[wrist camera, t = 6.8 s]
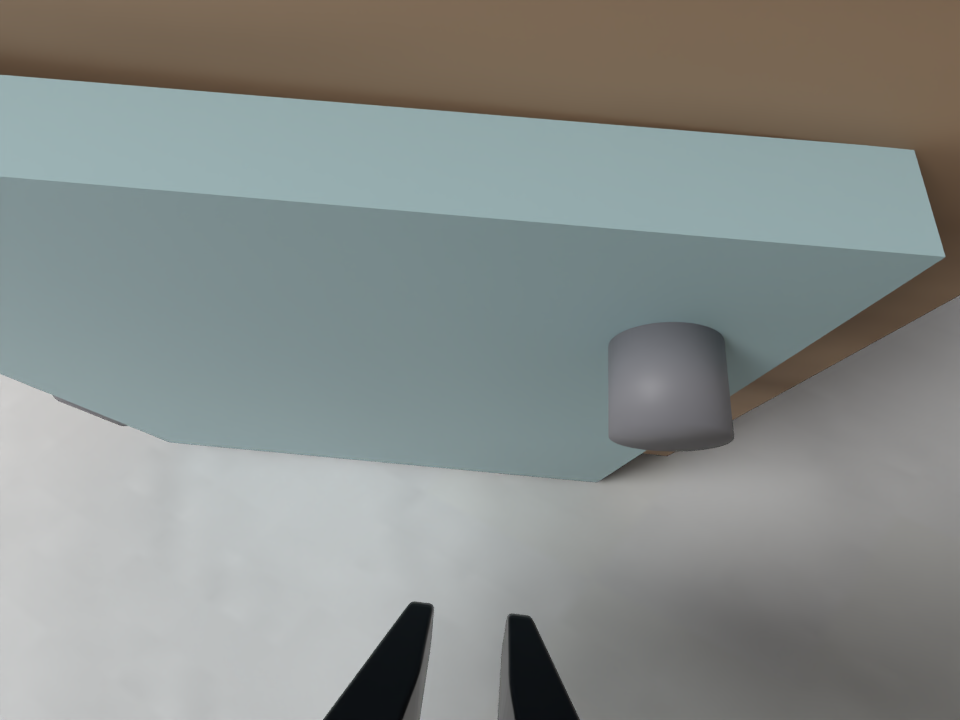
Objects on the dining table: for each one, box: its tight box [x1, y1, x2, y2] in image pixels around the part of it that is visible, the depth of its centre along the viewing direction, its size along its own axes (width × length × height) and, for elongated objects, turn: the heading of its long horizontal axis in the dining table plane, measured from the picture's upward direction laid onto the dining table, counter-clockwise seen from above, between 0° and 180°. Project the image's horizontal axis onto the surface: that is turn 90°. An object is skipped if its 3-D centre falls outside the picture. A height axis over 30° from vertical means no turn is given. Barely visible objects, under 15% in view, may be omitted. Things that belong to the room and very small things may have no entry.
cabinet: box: [0, 0, 960, 456], centre depth 12 cm, size 7×18×15 cm, turn 84°
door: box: [0, 75, 945, 482], centre depth 11 cm, size 15×2×13 cm, turn 85°
